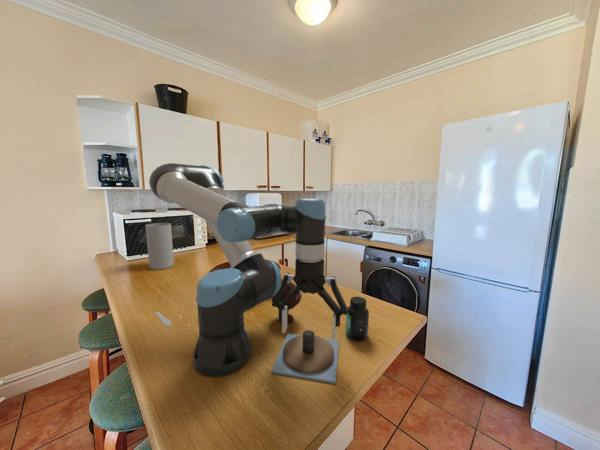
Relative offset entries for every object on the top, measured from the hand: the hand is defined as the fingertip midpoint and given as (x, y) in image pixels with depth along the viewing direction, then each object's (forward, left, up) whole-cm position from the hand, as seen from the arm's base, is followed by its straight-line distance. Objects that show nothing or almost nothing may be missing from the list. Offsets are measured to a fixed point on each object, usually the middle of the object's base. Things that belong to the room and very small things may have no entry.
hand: (308, 333), depth 65 cm
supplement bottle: (+13, +13, -7) cm, 20 cm away
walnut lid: (0, 0, -6) cm, 6 cm away
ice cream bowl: (-11, +17, -7) cm, 21 cm away
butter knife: (-60, +11, -7) cm, 61 cm away
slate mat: (0, 0, -7) cm, 7 cm away
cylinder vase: (-97, +56, -7) cm, 112 cm away
